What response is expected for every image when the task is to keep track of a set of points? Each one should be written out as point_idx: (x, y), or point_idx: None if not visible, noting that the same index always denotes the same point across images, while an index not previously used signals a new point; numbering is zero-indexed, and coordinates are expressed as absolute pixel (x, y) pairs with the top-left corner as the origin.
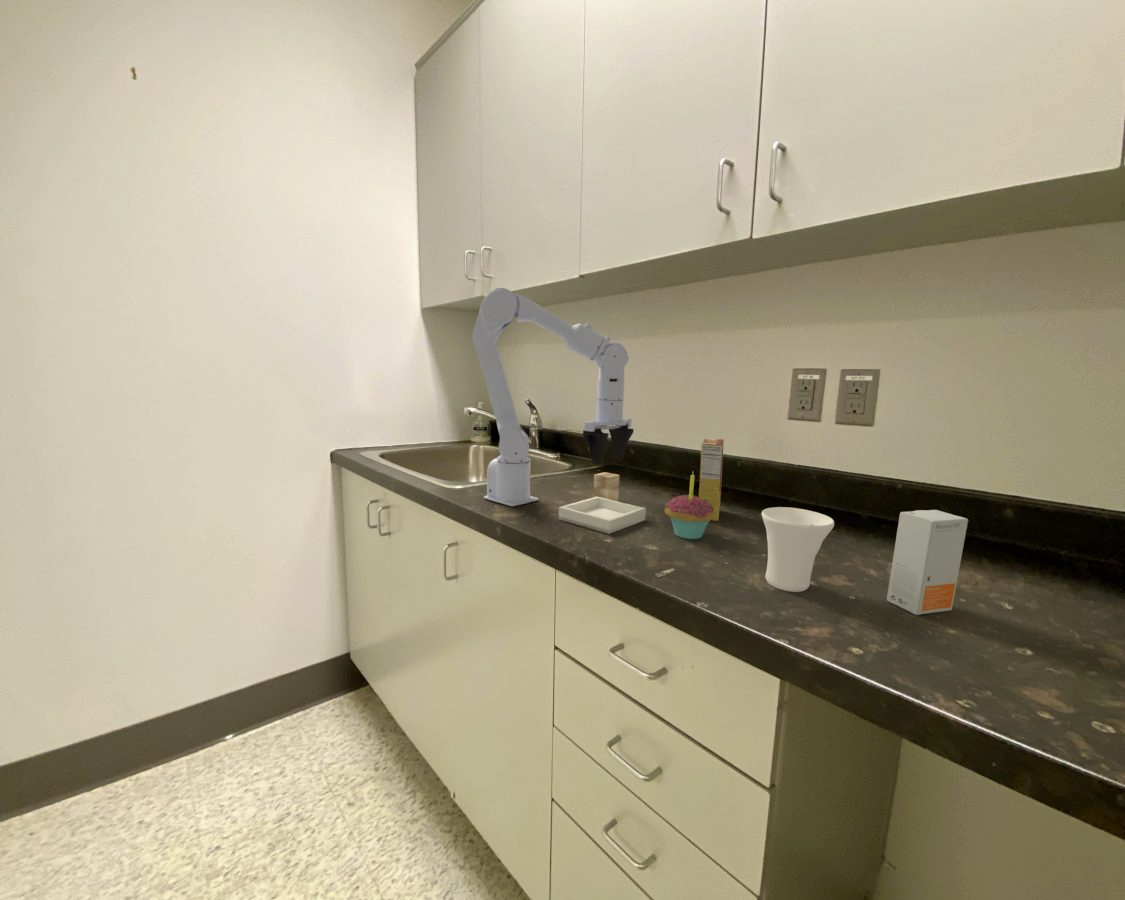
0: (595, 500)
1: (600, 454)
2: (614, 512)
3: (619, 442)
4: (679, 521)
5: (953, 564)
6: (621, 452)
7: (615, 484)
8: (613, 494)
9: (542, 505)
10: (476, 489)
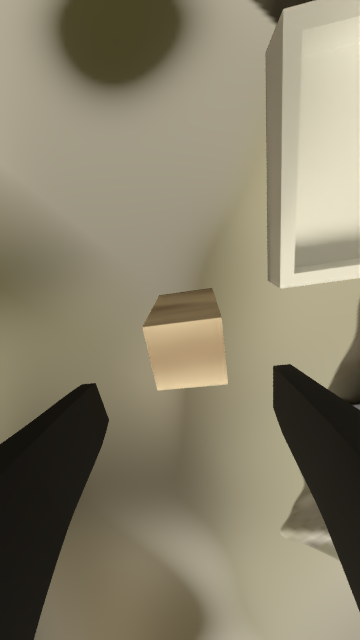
0: (302, 270)
1: (342, 399)
2: (304, 176)
3: (27, 506)
4: None
5: None
6: (69, 415)
7: (172, 310)
8: (183, 298)
9: (356, 374)
10: None
